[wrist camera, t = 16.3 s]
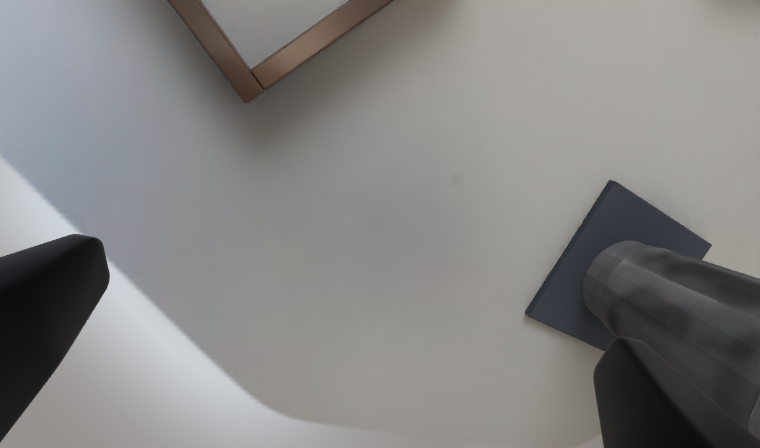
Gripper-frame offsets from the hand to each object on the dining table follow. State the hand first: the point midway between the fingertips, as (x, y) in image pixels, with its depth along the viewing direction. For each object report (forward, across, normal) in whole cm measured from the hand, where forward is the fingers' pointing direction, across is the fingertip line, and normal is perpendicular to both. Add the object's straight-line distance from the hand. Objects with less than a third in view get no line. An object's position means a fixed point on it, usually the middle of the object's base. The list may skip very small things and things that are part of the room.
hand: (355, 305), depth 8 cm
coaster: (+14, -13, +8) cm, 21 cm away
